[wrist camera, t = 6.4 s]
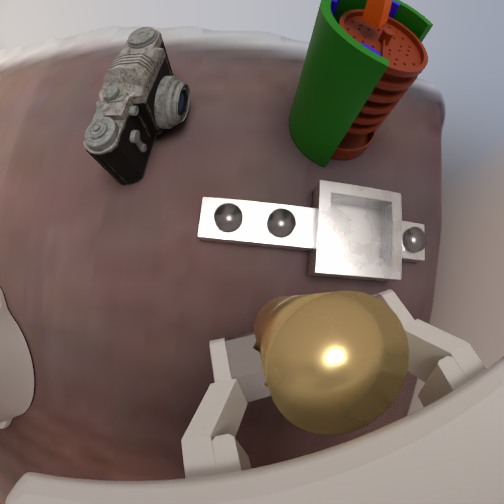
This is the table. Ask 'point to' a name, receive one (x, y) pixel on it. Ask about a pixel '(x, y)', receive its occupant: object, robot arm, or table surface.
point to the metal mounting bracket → (324, 230)
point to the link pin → (331, 358)
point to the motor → (355, 74)
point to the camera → (135, 107)
